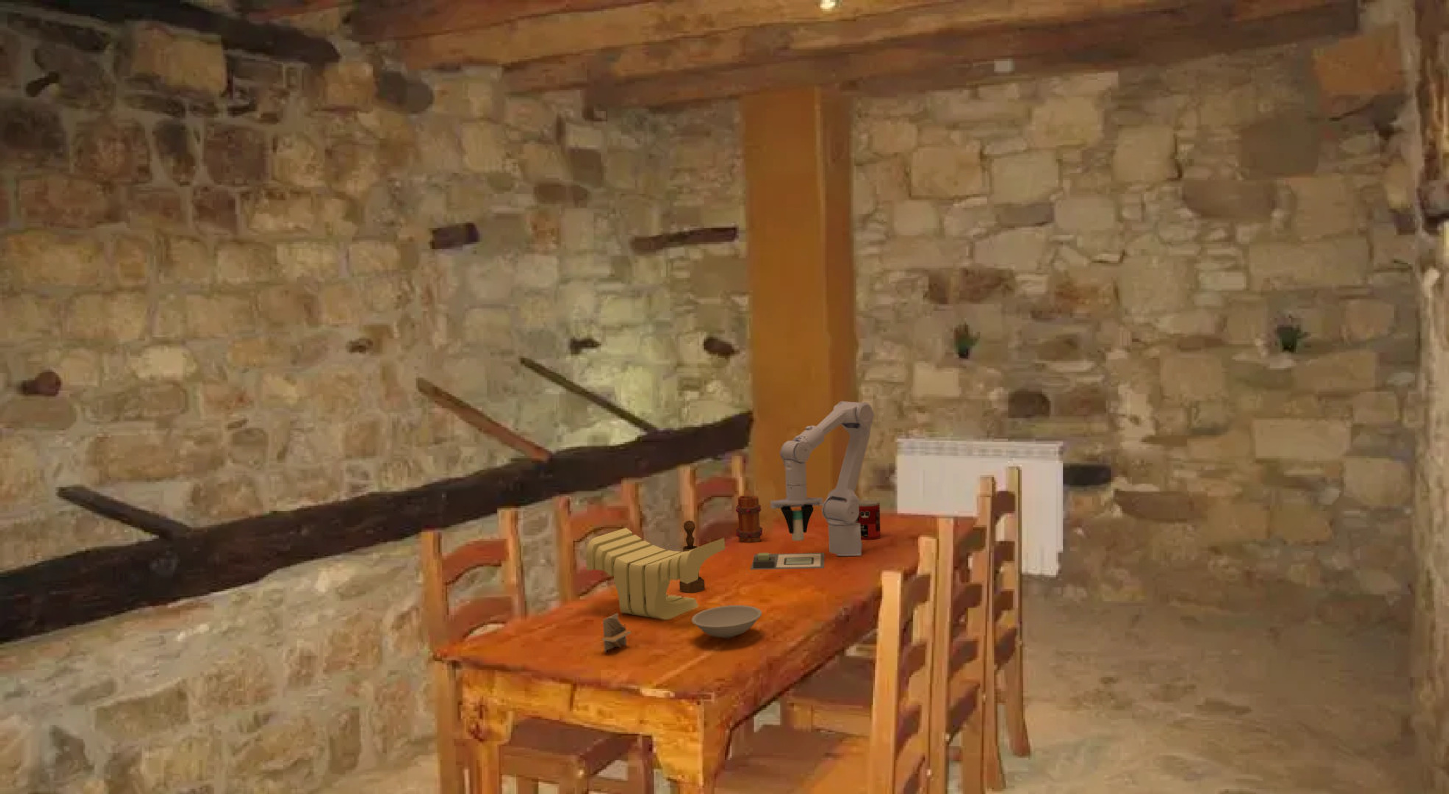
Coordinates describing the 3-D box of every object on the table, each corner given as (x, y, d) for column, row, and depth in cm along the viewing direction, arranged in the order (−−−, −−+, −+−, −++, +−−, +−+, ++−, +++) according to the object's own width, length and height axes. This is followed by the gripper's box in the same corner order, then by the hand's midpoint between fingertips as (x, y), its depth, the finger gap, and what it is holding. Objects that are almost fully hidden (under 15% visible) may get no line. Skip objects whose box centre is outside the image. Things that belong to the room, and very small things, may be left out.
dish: (724, 623, 265) (723, 602, 265) (776, 631, 257) (775, 609, 257) (677, 643, 251) (676, 621, 251) (731, 653, 243) (730, 630, 242)
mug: (763, 545, 345) (761, 496, 344) (736, 546, 345) (734, 497, 344) (762, 535, 360) (760, 487, 358) (736, 536, 360) (734, 488, 359)
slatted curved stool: (589, 612, 280) (585, 540, 278) (629, 596, 293) (626, 527, 291) (688, 628, 263) (685, 551, 261) (727, 610, 276) (724, 537, 274)
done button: (769, 560, 317) (769, 552, 317) (769, 562, 314) (768, 555, 314) (758, 560, 318) (758, 553, 317) (758, 562, 315) (757, 555, 314)
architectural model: (632, 647, 251) (630, 614, 251) (614, 657, 245) (613, 623, 245) (619, 645, 253) (617, 612, 252) (601, 655, 247) (599, 621, 246)
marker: (802, 537, 321) (801, 509, 320) (805, 540, 317) (804, 511, 317) (790, 538, 320) (789, 510, 319) (793, 541, 317) (792, 512, 316)
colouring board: (824, 555, 328) (824, 546, 328) (824, 570, 311) (823, 561, 310) (754, 557, 330) (754, 548, 330) (750, 572, 313) (750, 562, 312)
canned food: (849, 537, 352) (848, 501, 351) (871, 533, 355) (870, 498, 354) (862, 541, 345) (861, 505, 344) (885, 538, 348) (884, 502, 347)
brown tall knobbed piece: (701, 593, 293) (698, 523, 292) (677, 592, 294) (673, 523, 293) (707, 586, 300) (704, 518, 298) (683, 586, 301) (679, 518, 299)
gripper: (817, 480, 322) (819, 527, 324) (767, 483, 320) (769, 531, 321) (824, 484, 315) (825, 532, 317) (772, 487, 313) (774, 536, 314)
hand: (797, 532), depth 318 cm, fingers closed on marker, 3 cm apart
